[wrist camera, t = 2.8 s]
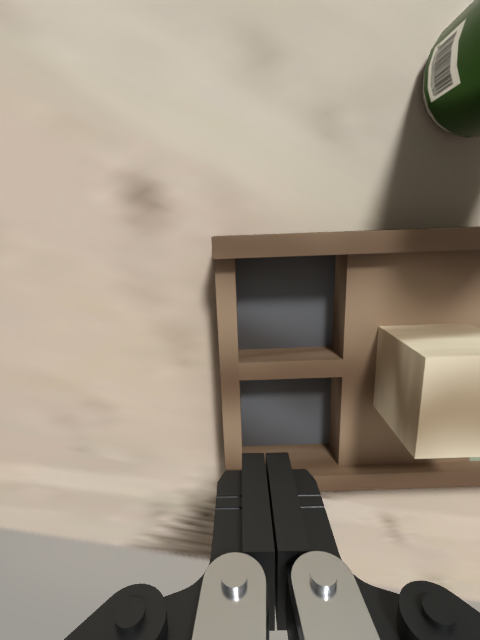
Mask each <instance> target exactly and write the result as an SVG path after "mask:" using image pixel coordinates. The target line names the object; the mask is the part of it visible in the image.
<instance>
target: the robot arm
mask: <svg viewBox="0 0 480 640" xmlns="http://www.w3.org/2000/svg"><path fill="white" fill-rule="evenodd" d="M275 611H276V621H277V630H287V633H288V640H480V613H479V612H478V611H477V610H475V609H474V608H472V607H471V606H470V605H468V604H467V603H466V602H464V601H463V600H461V599H460V598H459V597H457V596H456V595H455V594H453V593H452V592H450V591H449V590H447V589H446V588H444V587H442V586H440V585H437V584H435V583H432V582H427V581H414V582H410V583H408V584H406V585H405V586H404V587H403V588H402V590H401V592H400V594H397V593H393V592H390V591H387V590H384V589H380V588H377V587H374V586H372V585H369V584H367V583H365V582H363V581H362V580H360V579H359V578H357V577H356V576H355V575H354V574H352V572H351V570H350V569H349V567H348V566H347V565H346V564H345V563H344V562H343V561H342V559H341V557H340V555H339V552H338V549H337V546H336V542H335V539H334V536H333V533H332V530H331V526H330V523H329V520H328V517H327V514H326V511H325V508H324V504H323V501H322V498H321V496H320V491H319V488H318V485H317V482H316V480H315V479H314V477H313V476H312V475H311V474H310V473H309V472H308V471H307V470H306V469H292V467H291V462H290V458H289V454H288V452H276V453H265V458H264V453H242V470H225V472H224V473H223V475H222V477H221V478H220V480H219V481H218V486H217V499H216V510H215V519H214V530H213V541H212V552H211V559H210V563H209V566H208V568H207V569H206V572H205V573H204V574H203V576H202V577H201V578H200V579H199V580H198V581H197V582H196V583H194V584H193V585H191V586H190V587H188V588H186V589H184V590H182V591H179V592H176V593H173V594H171V595H168V596H165V597H163V595H162V594H161V592H160V591H159V590H157V589H156V588H155V587H153V586H151V585H147V584H134V585H131V586H127V587H125V588H123V589H121V590H120V591H118V592H117V593H115V594H114V595H113V596H112V597H110V598H109V599H108V600H107V601H106V602H105V603H104V604H103V605H101V606H100V607H99V608H98V609H97V610H96V611H95V612H94V613H93V614H92V615H91V616H89V617H88V618H87V619H86V620H85V621H84V622H83V623H82V624H81V625H79V626H78V627H77V628H76V629H75V630H74V631H73V632H72V633H71V634H70V635H68V636H67V637H66V638H65V639H64V640H269V631H274V630H275Z"/></svg>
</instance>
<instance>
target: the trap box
mask: <svg viewBox="0 0 480 640" xmlns="http://www.w3.org/2000/svg"><path fill="white" fill-rule="evenodd" d="M212 254H213V259H214V267H215V286H216V304H217V323H218V341H219V360H220V378H221V397H222V415H223V434H224V453H225V470H242V453H264V458H265V453H276V452H288V454H289V458H290V462H291V467H292V469H306V470H307V471H308V472H309V473H310V474H311V475H312V476H313V477H314V479H315V480H316V482H317V485H318V488H319V491H343V490H374V489H404V488H435V487H465V486H480V457H461V458H430V459H414V457H413V456H412V455H411V454H410V452H409V451H408V450H407V448H406V447H405V446H404V445H403V443H402V442H401V441H400V439H399V438H398V437H397V436H396V434H395V433H394V432H393V430H392V429H391V428H390V427H389V425H388V424H387V423H386V421H385V420H384V419H383V418H382V416H381V415H380V414H379V412H378V411H377V410H376V409H375V407H374V406H373V401H374V386H375V372H376V358H377V343H378V329H379V326H399V325H428V324H456V323H468V324H470V325H473V326H475V327H478V328H480V227H454V228H427V229H400V230H372V231H345V232H318V233H290V234H263V235H236V236H214V237H212Z"/></svg>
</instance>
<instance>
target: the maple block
mask: <svg viewBox="0 0 480 640" xmlns="http://www.w3.org/2000/svg"><path fill="white" fill-rule="evenodd" d="M373 406H374V407H375V409H376V410H377V411H378V412H379V414H380V415H381V416H382V418H383V419H384V420H385V421H386V423H387V424H388V425H389V427H390V428H391V429H392V430H393V432H394V433H395V434H396V436H397V437H398V438H399V439H400V441H401V442H402V443H403V445H404V446H405V447H406V448H407V450H408V451H409V452H410V454H411V455H412V456H413V457H414V459H430V458H461V457H480V328H478V327H475V326H473V325H470V324H468V323H456V324H428V325H399V326H379V329H378V343H377V358H376V372H375V386H374V401H373Z"/></svg>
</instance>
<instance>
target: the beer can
mask: <svg viewBox="0 0 480 640" xmlns="http://www.w3.org/2000/svg"><path fill="white" fill-rule="evenodd" d="M422 96H423V100H424V104H425V108H426V111H427V112H428V114H429V115H430V117H431V118H432V120H433V121H434V123H436V124H437V125H438V126H440V127H441V128H442V129H444V130H445V131H447V132H450V133H453V134H457V135H461V136H465V137H474V136H480V0H475V1H474V2H473V3H472V4H470V5H469V6H468V7H467V8H466V9H465V10H464V11H463V12H462V13H461V14H460V15H459V16H458V17H457V18H456V19H455V20H454V21H453V22H452V23H451V24H450V25H449V26H448V27H447V28H446V29H445V30H444V31H443V32H442V34H441V35H440V37H439V38H438V40H437V42H436V43H435V45H434V46H433V48H432V49H431V52H430V55H429V58H428V61H427V65H426V68H425V71H424V75H423V88H422Z"/></svg>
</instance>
